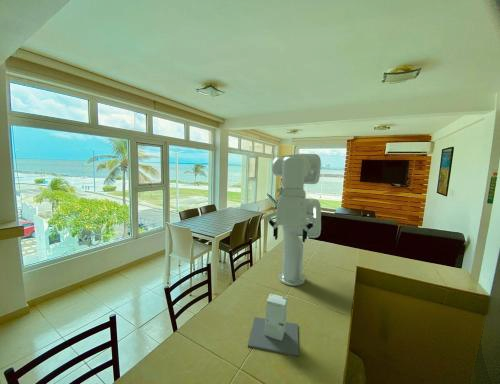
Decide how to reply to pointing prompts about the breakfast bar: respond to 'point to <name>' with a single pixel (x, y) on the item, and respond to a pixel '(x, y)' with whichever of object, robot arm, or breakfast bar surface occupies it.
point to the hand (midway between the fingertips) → (289, 239)
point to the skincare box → (275, 316)
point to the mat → (267, 343)
